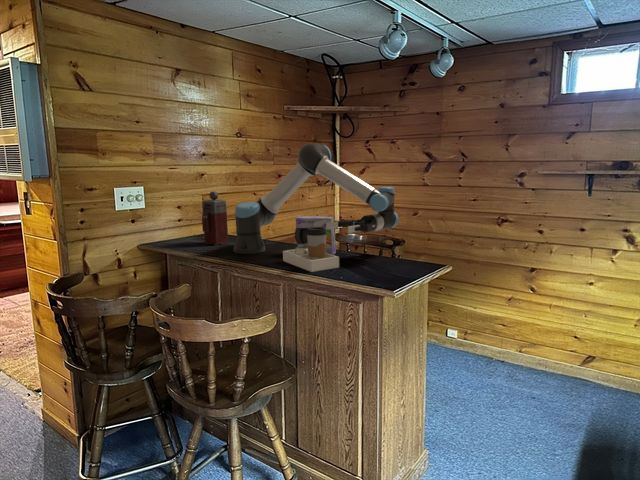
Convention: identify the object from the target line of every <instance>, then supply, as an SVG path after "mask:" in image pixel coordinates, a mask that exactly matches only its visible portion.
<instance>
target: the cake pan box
mask: <svg viewBox="0 0 640 480" xmlns="http://www.w3.org/2000/svg"><path fill="white" fill-rule="evenodd" d="M334 221H335V217H334V216H322V215H314V216H313V215H311V216H310V215H308V216H307V215H299V216H297V217H295V230H294V239H295V242H296V244H297V245H296V246H297V247H308V240H307V235H306V234H307V230H308V228H313V227H323V228H325V230H326V233H327V234H326V253H328V254H332V255H335V254H336V253H337V250H336V246H337V245H336V233H335V231H336V230H335V228H334V229H326V223H331V222H334Z"/></svg>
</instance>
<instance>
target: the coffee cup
mask: <svg viewBox="0 0 640 480" xmlns="http://www.w3.org/2000/svg"><path fill="white" fill-rule="evenodd" d="M326 234H327V233H326V230H325V228H323V227H313V228H308V230H307V234H306V235H307V240H308V253H309V259H310V260H317V259H324V258H325V255H326Z"/></svg>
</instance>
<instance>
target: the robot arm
mask: <svg viewBox="0 0 640 480" xmlns="http://www.w3.org/2000/svg"><path fill="white" fill-rule="evenodd" d="M297 155H298V156H297V157H298V158H297V160H296V162H297V163H296V165H295V166H293V168H292V169H290V170H289V171H288V173H287V174H286V175H285V176H284V177H283V178H282V179H281V180H280V181H279V182H278V183H277V184H276V185H275V186H274V187H273V188H272V189H271V191H269V192H268V193H267V195H262V196H261V197H259V199H258V200H257V201H249V202H247V201H246V202H241V203H239V204H237V205H236V206H235V211H234V215H235V230H236V232H235V233H236V237H235V241H234V245H233V253H234V252H235V253H234V254H237V253H238V254H237V255H252V254H261V253H264V252H265V251H266V246H265V243H264V240H263V237H262V233H261V231H262V230H261V227H264V226H267V225H270V224H271V223H272V222H273V221H274V220H275V219H276V216H277V215H278V213H279V212H280V210H279V209H280V207H281V206H282V205H283V204H284V203H285V202H286V201H287V200H288V199H289V198H290V197H291V196H292V195H293V194H294V193H295V192H296V191H297V190H298V189H299V188H300V187H301V186H302V185H303V184H304V183H305V182H306V181H307V180H308V179H309V178H310V177H315V176H316V175H321V176H322V177H324V178H325V179H327V180H328V181H330V182H332V183H333V184H335V185H337V186H338V187H340V188H341V189H343V190H344V191H347V193H349V194H351V195H353V196H354V197H356V198H358V199H359V200H360V201H362V202H364V203H365V204H366V205H368V206H369V207H370V209H371V210H372V211H374V212H377V213H373V214H367V215H363V216H362V217H361V218H360V219H351V220H350V219H349V220H334V222H331V223H326V229H334V230H335V229H336V230H337V229H338V228H347V234H353V233H360V232H365V233H369V232H370V233H371V232H378V231H380V230H387V229H393V228H395V227H396V226H398V224H399V221H400V217H399V215H398V213H396V212H395V187H393V186H379V188H378V189H377V188H375V187H373V186H371V185H370V184H368V183H367V182H365V181H363V180H362V179H360V178H359V177H357V176H356V175H354V174H353V173H350V171H348V170H347V169H344V168H343V167H342V166H340V165H338V164H337V163H335V162H333V161H332V153H331V150H330V148H329V147H328V146H326V145H325V144H323V143H319V142H318V143H314V142H313V143H311V142H310V143H306V144H304V145H303V146H301V148H300V149H299V151H298V153H297Z"/></svg>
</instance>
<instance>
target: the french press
mask: <svg viewBox="0 0 640 480" xmlns="http://www.w3.org/2000/svg"><path fill="white" fill-rule="evenodd" d="M208 196H209V199H207V200H206V199H205V200H203V201H202V202H201V205H202V212H201V213H202V214H201V226H202V232H203V234H204V235H203V236H204V244H205V243H207V244H222V243H226V242H228V243H229V228H228V211H227V200H225V199H218V197H219V193H218V192H217V191H215V190H213V191H210V193H209V195H208ZM226 244H227V243H226ZM222 245H223V244H222Z"/></svg>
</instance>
